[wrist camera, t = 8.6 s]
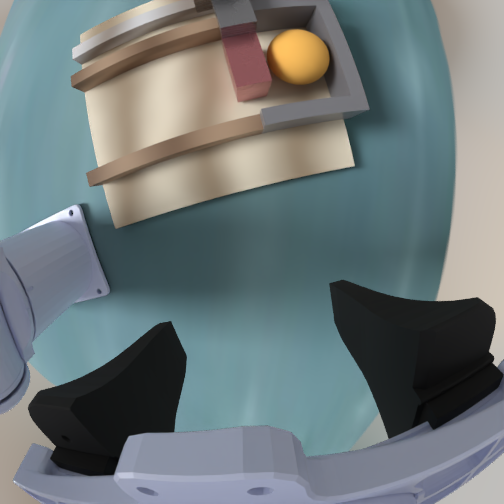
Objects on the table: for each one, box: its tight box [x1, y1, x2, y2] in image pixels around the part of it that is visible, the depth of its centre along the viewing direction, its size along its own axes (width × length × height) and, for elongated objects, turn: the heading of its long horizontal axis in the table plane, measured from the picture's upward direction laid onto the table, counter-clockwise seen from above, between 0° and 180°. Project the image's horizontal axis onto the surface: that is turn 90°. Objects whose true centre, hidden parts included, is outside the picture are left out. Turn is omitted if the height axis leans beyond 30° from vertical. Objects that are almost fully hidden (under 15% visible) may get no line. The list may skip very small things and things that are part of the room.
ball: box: [267, 29, 330, 85], centre depth 14 cm, size 4×4×4 cm
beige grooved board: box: [71, 0, 355, 229], centre depth 15 cm, size 18×18×3 cm
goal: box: [250, 0, 370, 133], centre depth 14 cm, size 6×9×3 cm
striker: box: [193, 0, 272, 102], centre depth 11 cm, size 4×10×8 cm, turn 14°
